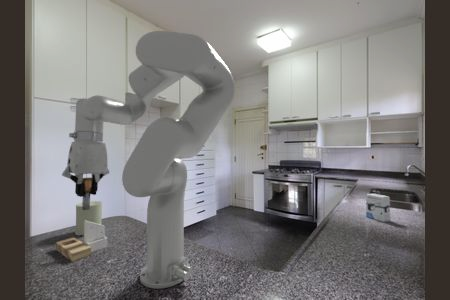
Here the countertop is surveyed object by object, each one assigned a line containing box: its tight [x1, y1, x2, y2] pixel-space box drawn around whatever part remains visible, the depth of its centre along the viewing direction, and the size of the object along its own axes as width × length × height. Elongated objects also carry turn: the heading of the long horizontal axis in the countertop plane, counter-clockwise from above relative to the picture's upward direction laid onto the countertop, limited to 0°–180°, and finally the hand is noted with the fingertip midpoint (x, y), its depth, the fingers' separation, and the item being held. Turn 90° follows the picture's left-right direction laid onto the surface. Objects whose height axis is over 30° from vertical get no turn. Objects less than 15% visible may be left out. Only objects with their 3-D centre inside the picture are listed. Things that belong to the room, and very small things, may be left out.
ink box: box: [365, 193, 391, 223], centre depth 99 cm, size 8×5×12 cm, turn 17°
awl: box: [81, 177, 93, 210], centre depth 64 cm, size 3×3×10 cm
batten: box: [55, 236, 92, 263], centre depth 65 cm, size 14×5×2 cm, turn 56°
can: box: [74, 200, 103, 236], centre depth 83 cm, size 9×9×12 cm
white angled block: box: [83, 220, 109, 253], centre depth 67 cm, size 4×10×9 cm
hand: (86, 194), depth 64 cm, fingers closed on awl, 3 cm apart
